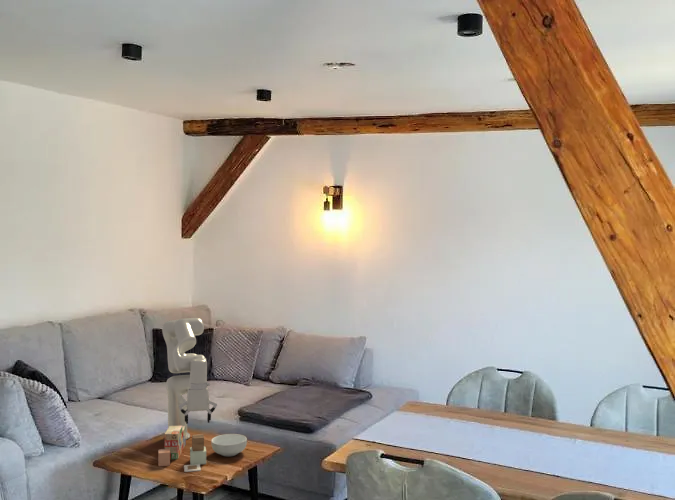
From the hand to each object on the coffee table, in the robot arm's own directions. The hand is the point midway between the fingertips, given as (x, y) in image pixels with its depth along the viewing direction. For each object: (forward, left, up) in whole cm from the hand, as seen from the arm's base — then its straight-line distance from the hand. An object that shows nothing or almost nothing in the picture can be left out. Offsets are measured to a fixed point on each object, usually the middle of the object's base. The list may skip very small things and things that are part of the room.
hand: (197, 422), depth 302 cm
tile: (+9, -3, -18) cm, 20 cm away
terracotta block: (0, -15, -18) cm, 23 cm away
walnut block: (0, 0, -12) cm, 12 cm away
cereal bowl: (-7, +15, -18) cm, 25 cm away
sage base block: (+1, 0, -18) cm, 18 cm away
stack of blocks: (-16, -9, -18) cm, 26 cm away
